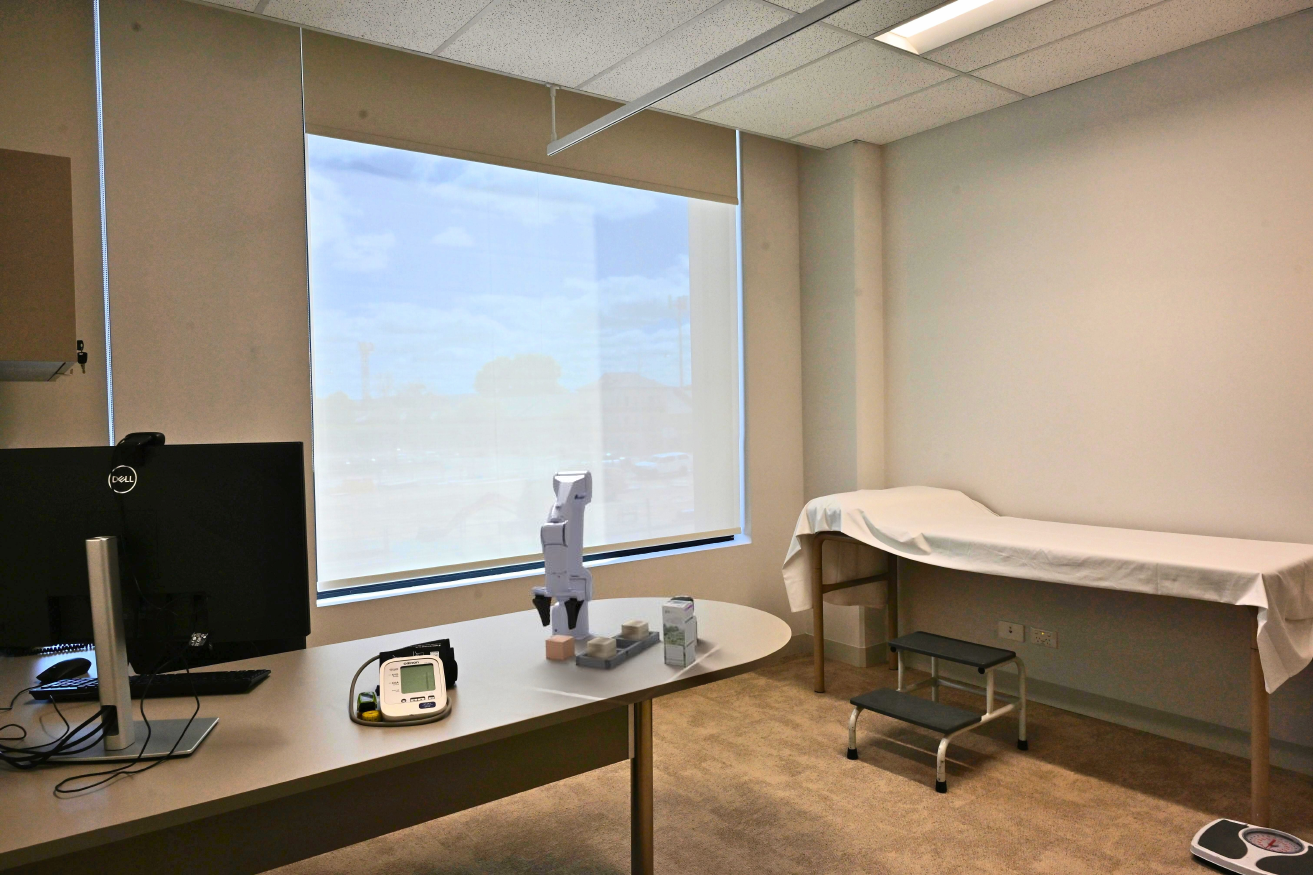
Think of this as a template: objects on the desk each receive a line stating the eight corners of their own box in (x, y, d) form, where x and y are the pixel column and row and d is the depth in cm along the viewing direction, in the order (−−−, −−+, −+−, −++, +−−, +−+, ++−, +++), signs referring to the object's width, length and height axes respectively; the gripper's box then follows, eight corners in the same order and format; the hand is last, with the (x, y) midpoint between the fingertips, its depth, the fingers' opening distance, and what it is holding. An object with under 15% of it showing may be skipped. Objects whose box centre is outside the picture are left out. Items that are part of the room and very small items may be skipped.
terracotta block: (546, 660, 198) (545, 640, 197) (558, 654, 202) (557, 634, 202) (563, 662, 195) (562, 642, 195) (574, 656, 200) (574, 636, 200)
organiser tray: (575, 667, 191) (575, 656, 191) (629, 638, 213) (628, 628, 213) (608, 672, 187) (608, 660, 187) (659, 641, 209) (659, 631, 209)
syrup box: (695, 660, 193) (693, 600, 192) (686, 668, 187) (683, 606, 187) (673, 658, 195) (671, 598, 194) (663, 666, 190) (661, 604, 189)
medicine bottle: (697, 648, 203) (696, 600, 202) (669, 648, 203) (667, 601, 202) (696, 639, 210) (695, 593, 209) (669, 640, 210) (667, 594, 209)
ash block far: (622, 644, 206) (621, 624, 206) (632, 638, 210) (631, 619, 210) (639, 646, 204) (638, 626, 203) (649, 640, 208) (648, 621, 208)
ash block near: (587, 663, 192) (586, 642, 192) (599, 657, 196) (598, 636, 196) (605, 665, 190) (604, 644, 189) (616, 659, 194) (615, 638, 194)
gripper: (522, 572, 198) (525, 628, 198) (572, 576, 191) (574, 634, 191) (540, 567, 204) (542, 621, 204) (588, 571, 197) (591, 626, 198)
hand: (559, 627), depth 198 cm, fingers open, 7 cm apart
